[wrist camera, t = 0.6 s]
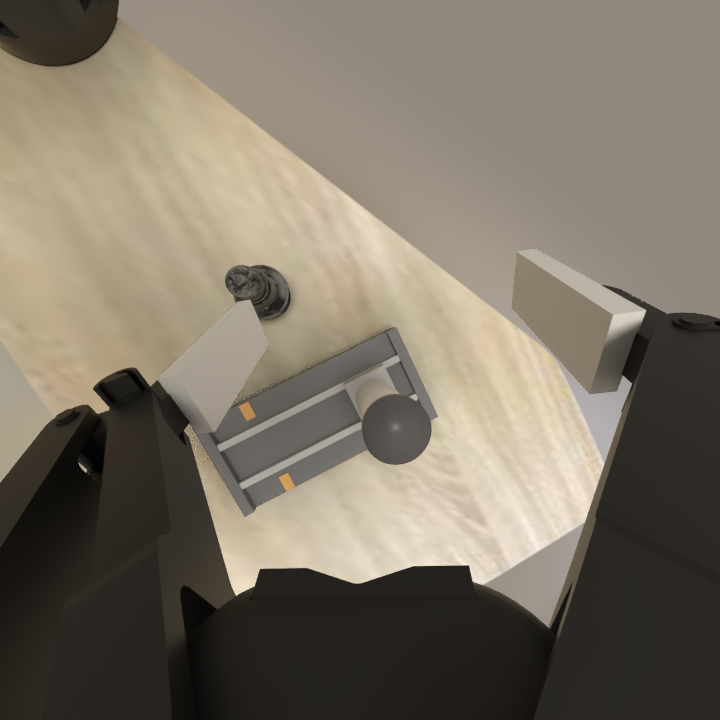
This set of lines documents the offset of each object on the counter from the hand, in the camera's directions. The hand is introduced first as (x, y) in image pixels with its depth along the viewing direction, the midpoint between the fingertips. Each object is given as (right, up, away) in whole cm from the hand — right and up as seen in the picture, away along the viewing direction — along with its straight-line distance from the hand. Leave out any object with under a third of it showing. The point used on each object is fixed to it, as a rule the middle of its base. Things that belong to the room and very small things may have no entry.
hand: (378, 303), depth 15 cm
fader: (+1, -7, +20) cm, 21 cm away
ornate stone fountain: (-12, +5, +21) cm, 24 cm away
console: (-6, -10, +22) cm, 25 cm away
